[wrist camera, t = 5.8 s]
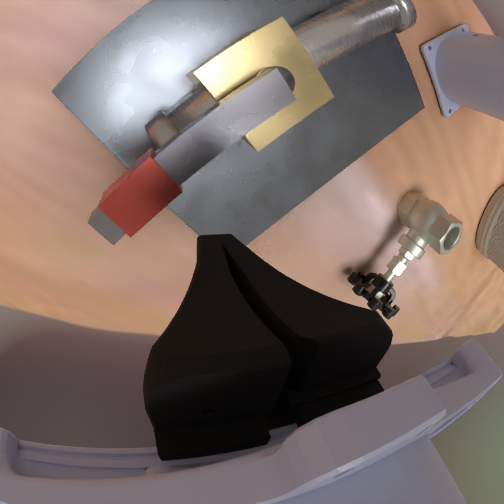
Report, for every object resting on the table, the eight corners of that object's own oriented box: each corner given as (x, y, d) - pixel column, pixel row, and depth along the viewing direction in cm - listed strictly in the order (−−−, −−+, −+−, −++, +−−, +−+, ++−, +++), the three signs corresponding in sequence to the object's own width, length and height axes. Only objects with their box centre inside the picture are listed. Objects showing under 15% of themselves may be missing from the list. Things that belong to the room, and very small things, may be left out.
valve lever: (273, 57, 11) (293, 54, 9) (295, 90, 12) (317, 94, 10) (92, 201, 12) (82, 223, 11) (120, 227, 14) (115, 251, 12)
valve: (404, 175, 25) (336, 270, 29) (453, 205, 20) (371, 314, 24) (430, 203, 28) (370, 285, 32) (471, 233, 23) (402, 323, 27)
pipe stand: (317, -70, 10) (363, -96, 5) (416, 105, 21) (467, 122, 16) (56, 90, 13) (16, 99, 8) (223, 253, 24) (242, 304, 19)
